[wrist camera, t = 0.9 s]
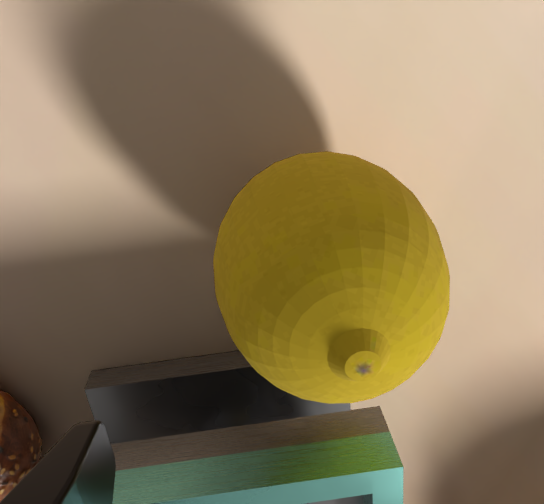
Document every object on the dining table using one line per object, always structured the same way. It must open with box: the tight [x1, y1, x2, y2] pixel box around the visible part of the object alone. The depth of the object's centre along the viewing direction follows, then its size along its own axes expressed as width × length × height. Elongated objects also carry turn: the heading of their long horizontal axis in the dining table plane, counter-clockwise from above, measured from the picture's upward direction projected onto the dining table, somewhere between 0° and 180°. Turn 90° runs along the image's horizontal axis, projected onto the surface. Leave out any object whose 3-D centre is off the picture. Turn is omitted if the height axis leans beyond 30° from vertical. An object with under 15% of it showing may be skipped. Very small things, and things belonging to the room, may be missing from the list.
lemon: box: [213, 151, 450, 404], centre depth 13 cm, size 6×6×8 cm
